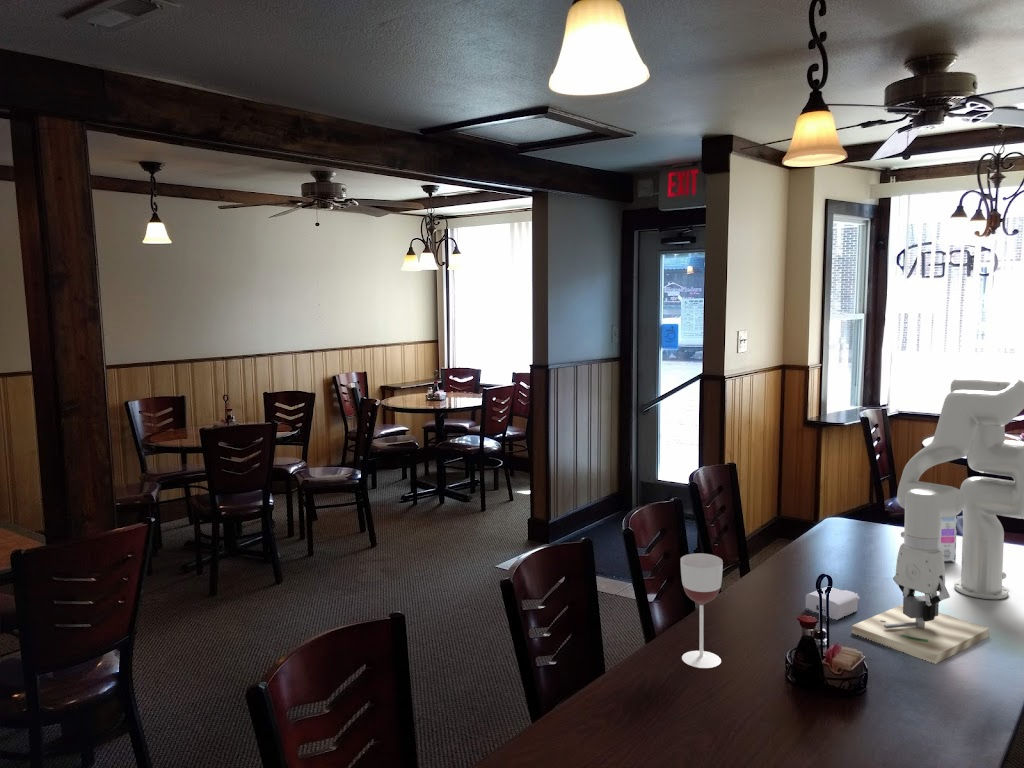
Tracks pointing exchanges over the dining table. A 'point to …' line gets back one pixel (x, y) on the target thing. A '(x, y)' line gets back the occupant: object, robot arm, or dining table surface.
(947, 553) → the candy box
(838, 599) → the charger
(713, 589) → the wineglass
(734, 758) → the dining table surface
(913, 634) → the wooden cutting board
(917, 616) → the key
